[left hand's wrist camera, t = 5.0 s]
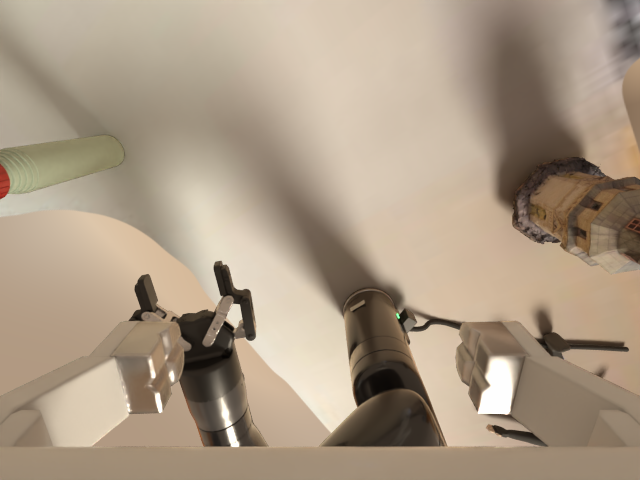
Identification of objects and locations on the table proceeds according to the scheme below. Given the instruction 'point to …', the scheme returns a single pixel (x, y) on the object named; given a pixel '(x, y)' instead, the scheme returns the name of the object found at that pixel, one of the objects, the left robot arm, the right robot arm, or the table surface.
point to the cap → (4, 182)
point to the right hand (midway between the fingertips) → (180, 270)
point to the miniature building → (582, 213)
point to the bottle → (58, 161)
